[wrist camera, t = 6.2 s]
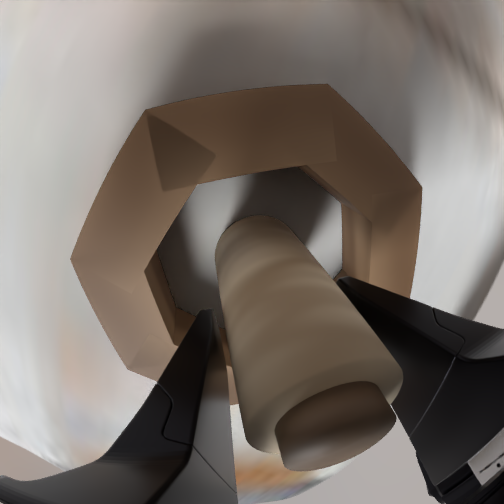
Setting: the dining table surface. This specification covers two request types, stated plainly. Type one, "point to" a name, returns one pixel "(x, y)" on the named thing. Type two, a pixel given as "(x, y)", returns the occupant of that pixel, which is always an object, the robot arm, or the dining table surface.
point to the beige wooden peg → (300, 351)
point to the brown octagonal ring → (226, 166)
